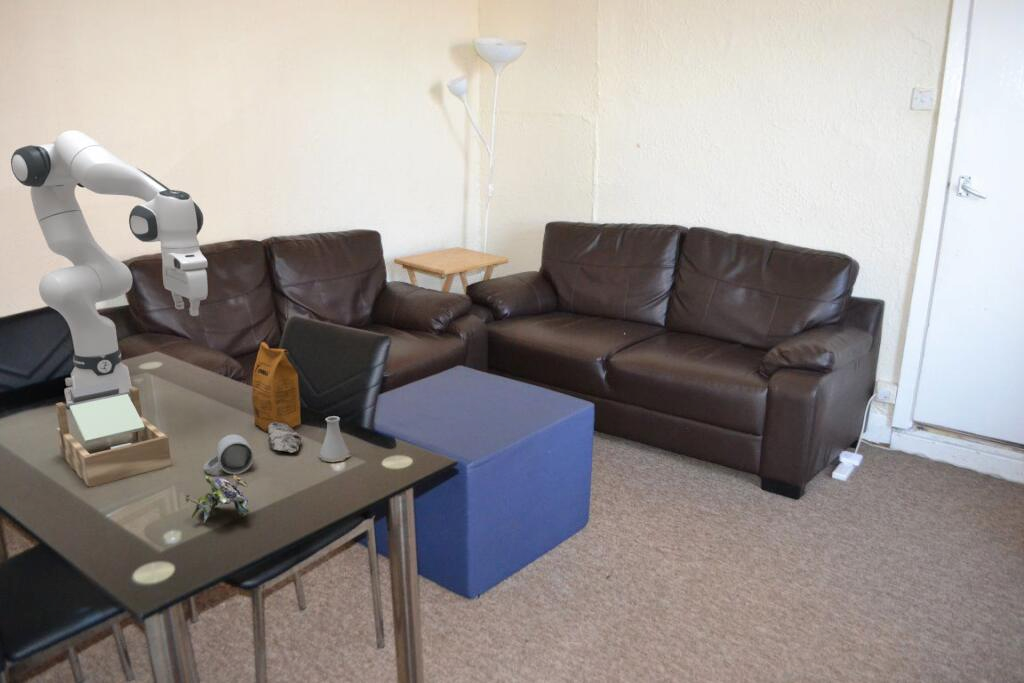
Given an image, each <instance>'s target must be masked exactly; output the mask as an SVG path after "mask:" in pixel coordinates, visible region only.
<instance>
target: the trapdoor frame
mask: <svg viewBox="0 0 1024 683" xmlns="http://www.w3.org/2000/svg"><path fill="white" fill-rule="evenodd" d="M133 387H134V388H130V389H129V390H130V399H131V401H132V403H133V405H134V407H135V409H136V411H137V413H138V415H139V417H140V418H141V420H142V422H143V424H144V426H145V430H141V431H137V432H132V433H131V438H132V440H134V441H135V442H134V443H131V444H130V445H126V446H122V447H118V448H114V449H107V450H102V451H98V452H93V453H89V452H88V450H86V449H85V447H83V445H82V444H80V443H79V441H78V440H77V439H76V438H75V437H74V436H73V435H72V434H71V433H70V429H69V423H68V415H67V409H66V404H65V403H64V402H61V401H60V402H57V403H55V407H56V414H57V420H58V427H57V428H56V431H57V437H58V438H57V439H58V445H59V450H60V456H61V455H62V456H63V457H64V458H63V457H62V456H61V457H62V458H63V459H64V461H65V460H66V461H67V462H68V463H69V464H70V465H69V464H68V463H67V462H66V461H65V462H66V463H67V464H68V465H69V466H70V467H71V469H72V470H73V469H74V470H75V471H76V472H77V473H76V472H75V471H74V470H73V471H74V472H75V473H76V474H77V475H78V476H79V478H80V479H81V478H82V479H83V480H84V481H85V482H84V481H83V480H82V479H81V480H82V481H83V482H84V484H85V485H86V486H87V487H88V486H89V488H92V487H91V486H93V487H96V486H99V485H100V486H101V485H103V484H107V483H111V482H115V481H118V480H121V479H122V480H123V479H126V478H129V477H132V476H137V475H140V474H144V473H147V472H151V471H156V470H159V469H162V468H165V467H169V466H170V467H171V466H172V459H171V452H170V442H169V437H168V436H167V435H166V434H165V433H163V432H162V430H159V429H158V428H157V427H156V426H154V425H153V424H152V423H151V422H149V421H148V420H147V419H146V418H144V417H143V415H142V406H141V399H140V390H139V389H138V388H137V387H135V386H133Z"/></svg>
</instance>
